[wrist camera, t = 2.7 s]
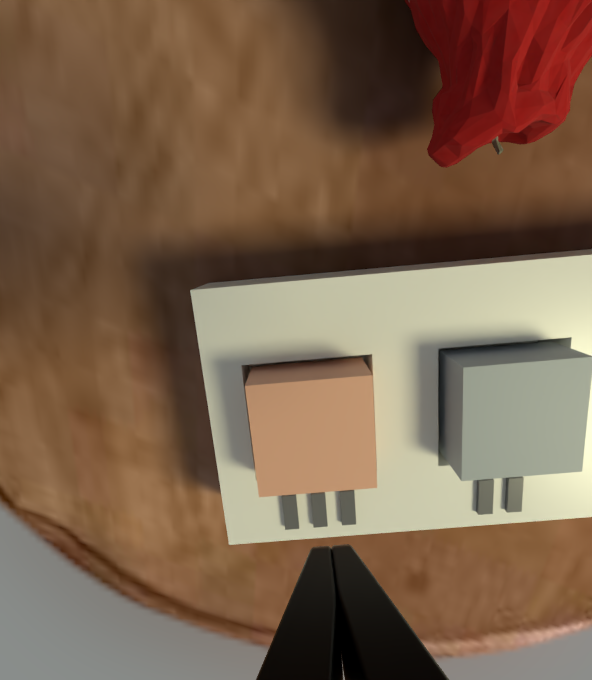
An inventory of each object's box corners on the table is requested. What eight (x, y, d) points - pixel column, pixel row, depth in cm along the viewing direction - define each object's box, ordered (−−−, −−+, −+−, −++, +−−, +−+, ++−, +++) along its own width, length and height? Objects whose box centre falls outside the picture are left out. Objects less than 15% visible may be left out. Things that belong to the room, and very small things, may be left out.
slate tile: (550, 341, 15) (594, 356, 13) (543, 441, 16) (582, 471, 14) (439, 350, 15) (463, 367, 13) (439, 450, 16) (461, 481, 14)
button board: (738, 235, 16) (844, 232, 13) (696, 463, 19) (776, 506, 16) (208, 283, 17) (188, 290, 13) (239, 499, 19) (228, 548, 16)
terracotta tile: (361, 357, 15) (372, 375, 13) (366, 456, 16) (377, 487, 14) (251, 366, 15) (244, 386, 13) (263, 464, 16) (259, 497, 14)
